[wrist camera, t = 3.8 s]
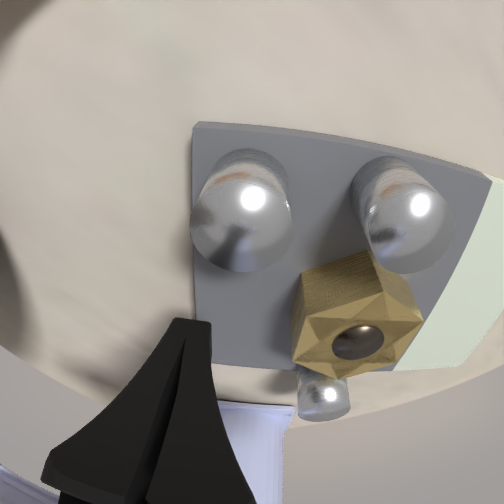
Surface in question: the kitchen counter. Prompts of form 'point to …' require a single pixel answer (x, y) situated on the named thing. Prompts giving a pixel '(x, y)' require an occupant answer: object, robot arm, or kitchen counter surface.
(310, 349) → the brass nut
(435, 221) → the cylinder
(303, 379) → the cylinder
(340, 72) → the kitchen counter surface
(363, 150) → the board
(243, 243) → the cylinder
